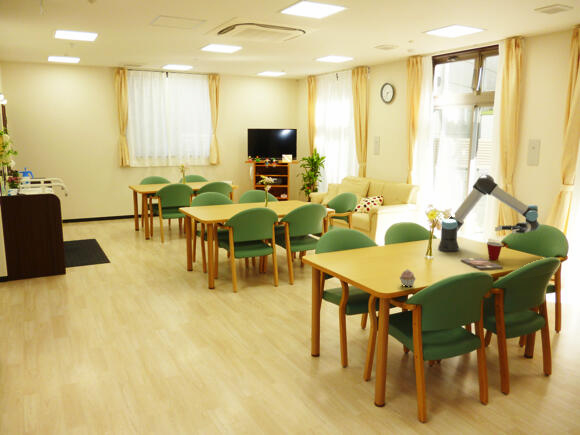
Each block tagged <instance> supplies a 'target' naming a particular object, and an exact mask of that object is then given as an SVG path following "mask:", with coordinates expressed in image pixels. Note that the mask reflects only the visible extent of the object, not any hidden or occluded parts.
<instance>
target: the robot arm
mask: <svg viewBox="0 0 580 435" xmlns="http://www.w3.org/2000/svg"><path fill="white" fill-rule="evenodd" d="M484 196H492V197H494V198H495V199H497V200H498V201H500V202H501V203H502V204H504V205H506V206H508V208H511V209H512V210H514V211H515V212H517V213H518V214H520V215H521V216H522V217H524V218H525V221H523V222H518V223H516V224H515V225H511V224H510V225H498V226H496V227H494V228H495V229H494V232H499V231H506V230H507V231H511V232H512V235H514V234H525V233H528V232H534V231H535V232H536V231H537V230H539V229H540V226H541V225H540V223H539V221H538V217H539V212H538V211H539V210H538V209H539V207H538V205H536V204H535V205H534V204H525V203H524V202H523V201H521V200H519V199H517V197H515V196H513V195H511V194H510V192H509V193H508V192H507V191H506V190H504V189H503V188H501V187H499V185H498V184H497V183H496V182H495V180H494V178H493V176H491V175H489V174H482V175H481V176H479V177H478V178H477V180H476V181H475V182H474V184H473V185H472V190H471V191H470V193H469V194H468V195H467V197H466V198H465V199H464V201H463V202H462V203H461V204H460V206H458V208H457V210H456V211H455V212H454V213H452V214H450V216H451V217H450V216H449V217H450V218H449V217H448V218H449V219H448V218H445V219H442V221H441V224H440V225H442V226H441V227H442V229H441V230H440V231H441V232H440V233H441V234H440V240H439V241H440V242H439V245H438V251H441V252H449V253H454V252H459V251H460V247H459V243H458V240H457V239H458V232H459V230H460V228H462V226H463V225H464V223H465V222H464V220H465V219H466V218H467V216H468V215H469V214H470V212H472V210H473V209H474V208H475V207H476V205H477V204H478V203H479V201H480V200H481V198H482V197H484Z"/></svg>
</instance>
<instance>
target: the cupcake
mask: <svg viewBox="0 0 580 435" xmlns="http://www.w3.org/2000/svg"><path fill="white" fill-rule="evenodd" d="M399 279H400V282H401V283H402V284H403V285H406V286H412V285H413V286H414V284H415V283H414V282H415V281H416V279H417V278H416V277H415V274H414V273H413V271H411V270H410V269H408V268H407V269H406V270H404V271H403V272H402V273H401V275H400V276H399ZM402 284H401V285H402ZM413 286H412V287H413Z"/></svg>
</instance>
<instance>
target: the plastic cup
mask: <svg viewBox="0 0 580 435" xmlns="http://www.w3.org/2000/svg"><path fill="white" fill-rule="evenodd" d="M486 244H487V253H488V261H494V262H495V261H496V262H497V261H499V258H500V254H501V251H502V247H503V246H504V244H502V243H499V242H495V241H487V242H486Z"/></svg>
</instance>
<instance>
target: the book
mask: <svg viewBox="0 0 580 435" xmlns="http://www.w3.org/2000/svg"><path fill="white" fill-rule="evenodd" d="M460 262H462V263H464V264H466V265H468V266H470V267H472V268H474V269H477V270H479V271H488V270H489V269H491V270H502V269H503V268H504V266H502V265H500V264H497V263H496V262H492V261H491V260H489V259H485V258H483V257H480V258H479V257H478V258H475V257H474V258H472V257H471V258H469V257H468V258H462V259H461V258H460ZM489 271H490V270H489Z"/></svg>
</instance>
